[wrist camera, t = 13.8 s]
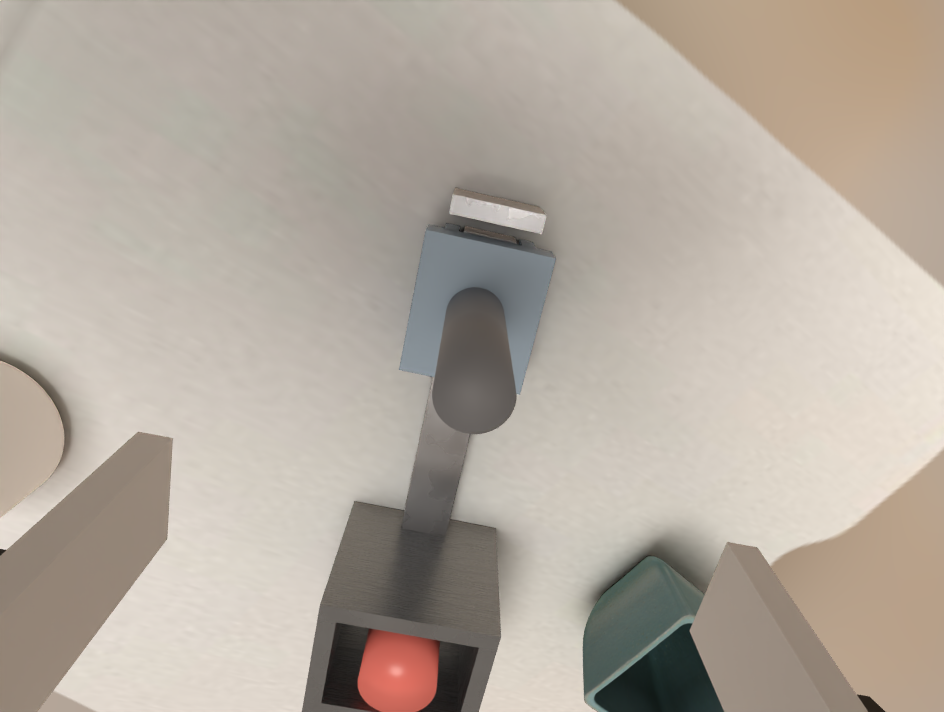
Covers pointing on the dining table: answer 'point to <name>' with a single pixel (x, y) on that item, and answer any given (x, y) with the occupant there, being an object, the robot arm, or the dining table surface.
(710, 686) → the flower pot
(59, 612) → the robot arm
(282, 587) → the dining table surface
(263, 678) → the dining table surface
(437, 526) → the rail
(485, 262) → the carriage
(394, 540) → the open box
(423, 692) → the button
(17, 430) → the cup
